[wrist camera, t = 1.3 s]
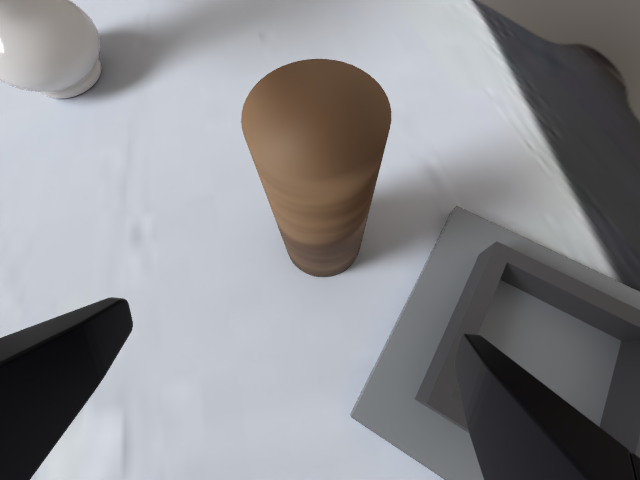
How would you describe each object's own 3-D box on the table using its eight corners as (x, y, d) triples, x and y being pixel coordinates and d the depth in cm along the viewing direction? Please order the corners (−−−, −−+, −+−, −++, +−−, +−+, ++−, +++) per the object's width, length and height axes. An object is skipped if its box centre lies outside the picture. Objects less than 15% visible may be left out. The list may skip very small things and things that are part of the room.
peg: (322, 292, 22) (313, 207, 10) (271, 241, 24) (211, 114, 12) (375, 241, 24) (422, 111, 12) (323, 195, 25) (317, 39, 13)
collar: (627, 599, 16) (702, 658, 13) (350, 414, 20) (354, 424, 16) (681, 321, 21) (746, 313, 18) (451, 211, 24) (470, 188, 21)
